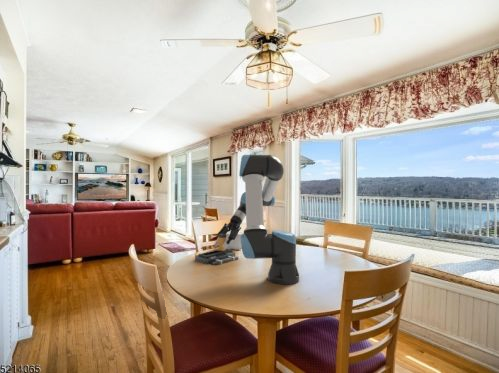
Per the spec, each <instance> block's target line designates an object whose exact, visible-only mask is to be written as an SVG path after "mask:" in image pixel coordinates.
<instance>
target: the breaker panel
mask: <svg viewBox="0 0 499 373" xmlns="http://www.w3.org/2000/svg"><path fill="white" fill-rule="evenodd" d="M217 250H218V249H215V250H211V251H206V252H202V253H198V254H195V257H194V258H195V262H199V263H202V264H205V265H212V264H211V262H213V261H216V259H218V260H220V259H224V258H228V256H231V257H232V256H236V252H235V251H233V249H226V250H227V251H224V252H220V253H219V252H217Z"/></svg>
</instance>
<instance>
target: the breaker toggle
mask: <svg viewBox="0 0 499 373" xmlns="http://www.w3.org/2000/svg"><path fill="white" fill-rule="evenodd" d="M225 241H226V234H219V244H218V249H216V250H217V252H219V253H220V252H224V251H227V250H226V248H225V249H224V248H223V247H222V245H223V244H224V242H225Z"/></svg>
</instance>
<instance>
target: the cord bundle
mask: <svg viewBox="0 0 499 373" xmlns="http://www.w3.org/2000/svg"><path fill="white" fill-rule="evenodd" d="M238 259H239V256H236V255H235V256H232V257H231V256H228V258H224V259H220V260H218V259H216V261H213V262H211V264H210V265H214V266H217V265H218V266H219V265H223V264H224V263H228V262H233V261H236V260H238Z"/></svg>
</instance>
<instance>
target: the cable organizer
mask: <svg viewBox="0 0 499 373" xmlns="http://www.w3.org/2000/svg"><path fill="white" fill-rule="evenodd" d="M230 232H231V230H230V231H228V232H227V233H226V239H227V238H228V237H229V235H230ZM241 234H244V230H243V231H241V230H239V232H238V234H237V236H236V238H235V240H231V241H230V243H229V244H228V245H227V247H226V249H230V250H234V249H235V251H239V250H242V246H241Z"/></svg>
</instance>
